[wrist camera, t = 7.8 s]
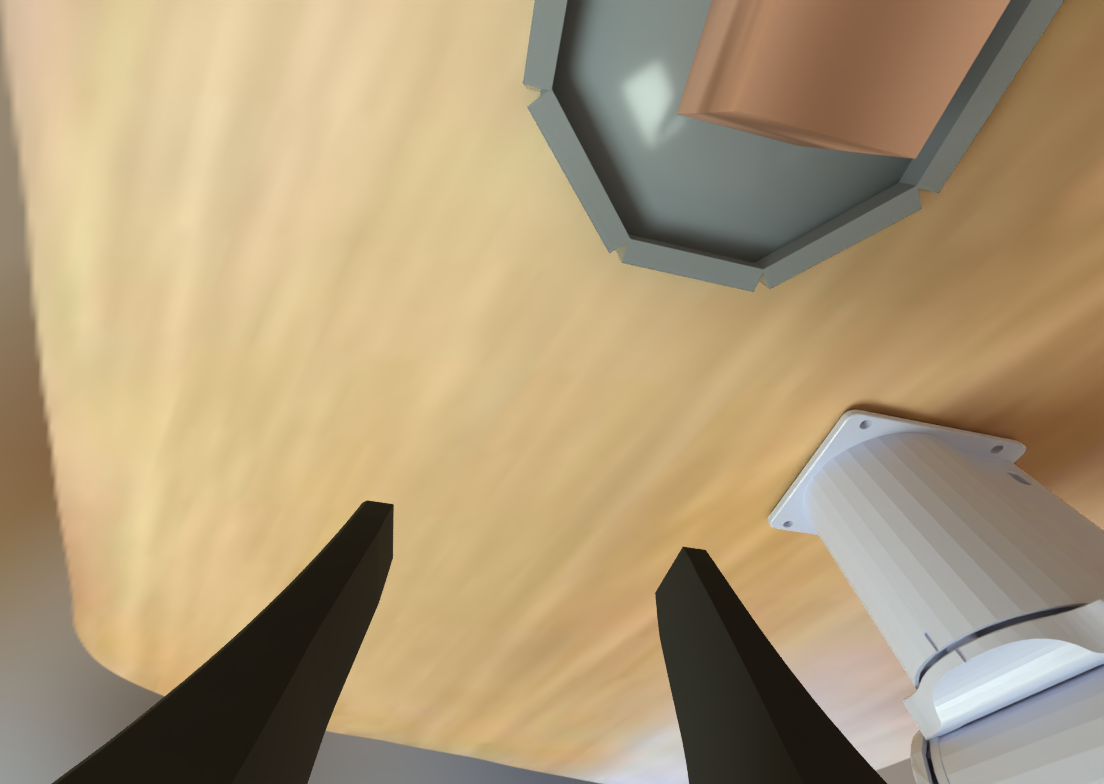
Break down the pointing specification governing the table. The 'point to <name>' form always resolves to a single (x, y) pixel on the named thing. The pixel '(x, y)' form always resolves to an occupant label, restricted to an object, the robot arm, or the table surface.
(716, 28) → the block
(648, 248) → the dish
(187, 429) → the table surface
